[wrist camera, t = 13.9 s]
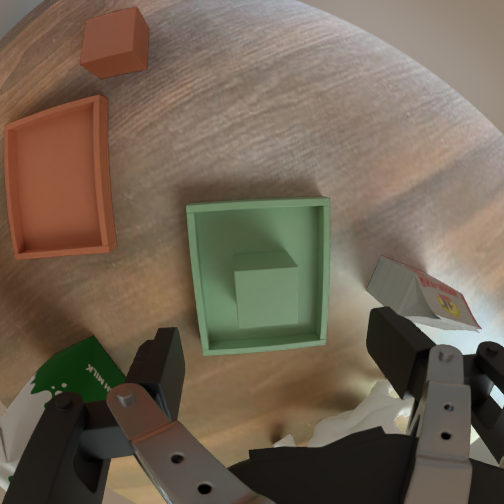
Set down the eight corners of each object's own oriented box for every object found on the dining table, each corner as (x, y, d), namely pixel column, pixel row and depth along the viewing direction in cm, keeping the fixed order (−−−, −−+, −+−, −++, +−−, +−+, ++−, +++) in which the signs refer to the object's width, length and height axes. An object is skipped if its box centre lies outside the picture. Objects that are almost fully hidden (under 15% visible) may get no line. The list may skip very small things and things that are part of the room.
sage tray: (189, 203, 24) (185, 205, 22) (322, 196, 25) (330, 197, 23) (204, 344, 27) (202, 355, 25) (319, 334, 28) (325, 344, 26)
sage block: (232, 254, 25) (233, 271, 20) (286, 250, 25) (298, 266, 21) (236, 304, 26) (238, 328, 22) (287, 300, 26) (298, 323, 22)
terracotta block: (104, 39, 19) (85, 19, 15) (149, 28, 20) (137, 5, 15) (100, 79, 20) (79, 64, 16) (147, 69, 21) (132, 50, 16)
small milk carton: (413, 305, 28) (470, 350, 19) (366, 290, 27) (421, 341, 17) (427, 274, 27) (490, 311, 18) (381, 255, 26) (445, 293, 17)
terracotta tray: (16, 127, 20) (4, 125, 18) (108, 99, 21) (99, 93, 19) (26, 254, 24) (15, 260, 22) (117, 246, 24) (109, 252, 22)
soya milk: (143, 388, 28) (97, 551, 9) (89, 405, 29) (34, 534, 9) (94, 324, 26) (-10, 478, 7) (44, 349, 26) (-46, 469, 7)
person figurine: (355, 513, 23) (462, 440, 16) (259, 499, 24) (345, 423, 17) (354, 439, 35) (430, 354, 29) (275, 419, 36) (338, 323, 29)
